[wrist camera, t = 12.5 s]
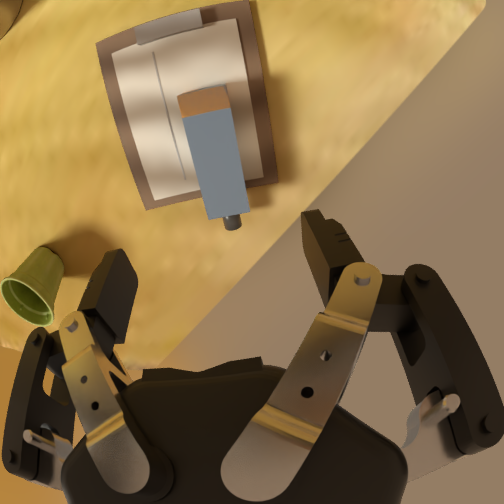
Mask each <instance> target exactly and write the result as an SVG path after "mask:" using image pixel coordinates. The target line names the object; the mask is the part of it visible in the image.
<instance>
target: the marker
mask: <svg viewBox="0 0 504 504" xmlns="http://www.w3.org/2000/svg"><path fill="white" fill-rule="evenodd" d="M177 100H178V104H179V108H180V112H181V116H182V120H183V125H184V129H185V133H186V137H187V141H188V145H189V148H190V152H191V156H192V160H193V164H194V168H195V171H196V175H197V179H198V183H199V186H200V190H201V194H202V197H203V201H204V205H205V208H206V212H207V215H208V219H209V220H211V219H216V218H221V217H222V218H223V222H224V226H225V229H226V230H230V231H232V230H236V229H238V228H240V227H241V225H242V223H241V218H240V214H242V213H247V212H250V208H249V203H248V197H247V192H246V187H245V181H244V176H243V171H242V165H241V160H240V155H239V149H238V144H237V139H236V134H235V128H234V123H233V118H232V113H231V107H230V102H229V97H228V92H227V87H226V83H225V84H220V85H215V86H210V87H205V88H201V89H197V90H192V91H188V92H184V93H182V94H180V95H178V96H177Z"/></svg>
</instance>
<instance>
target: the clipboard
mask: <svg viewBox="0 0 504 504" xmlns="http://www.w3.org/2000/svg"><path fill="white" fill-rule="evenodd" d="M96 48H97V52H98V57H99V62H100V66H101V70H102V75H103V79H104V83H105V87H106V91H107V94H108V98H109V102H110V105H111V109H112V112H113V116H114V119H115V123H116V126H117V129H118V133H119V136H120V139H121V142H122V145H123V148H124V151H125V154H126V157H127V160H128V163H129V166H130V169H131V172H132V175H133V177H134V180H135V183H136V186H137V188H138V191H139V194H140V196H141V199H142V202H143V204H144V207H145V209H146V210H150V209H154V208H158V207H162V206H166V205H170V204H174V203H178V202H183V201H187V200H192V199H196V198H201V197H202V194H201V190H200V186H199V183H198V179H197V175H196V171H195V168H194V164H193V160H192V156H191V152H190V148H189V145H188V141H187V137H186V133H185V129H184V125H183V120H182V116H181V112H180V108H179V104H178V100H177V96H178V95H180V94H182V93H184V92H188V91H192V90H197V89H201V88H205V87H210V86H215V85H220V84H225V83H226V87H227V92H228V97H229V102H230V107H231V113H232V118H233V123H234V128H235V134H236V139H237V144H238V149H239V155H240V160H241V165H242V171H243V176H244V181H245V187H246V188H250V187H256V186H261V185H267V184H273V183H278V175H277V167H276V160H275V152H274V145H273V138H272V131H271V124H270V118H269V111H268V105H267V98H266V92H265V86H264V80H263V74H262V68H261V62H260V57H259V51H258V45H257V40H256V35H255V29H254V24H253V19H252V14H251V9H250V4H249V0H243V1H235V2H228V3H221V4H216V5H210V6H205V7H200V8H196V9H191V10H187V11H183V12H179V13H176V14H172V15H168V16H165V17H162V18H158V19H155V20H152V21H149V22H146V23H143V24H141V25H138V26H135V27H133V28H130V29H127V30H125V31H122V32H120V33H118V34H115V35H113V36H111V37H108V38H106V39H104V40H102V41H100V42H97V43H96Z"/></svg>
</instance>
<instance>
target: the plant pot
mask: <svg viewBox="0 0 504 504" xmlns="http://www.w3.org/2000/svg"><path fill="white" fill-rule="evenodd" d="M63 274H64V265H63V263H62V261H61V259H60V258H59V256H58V255H56V254H54V253H52V252H51V250H50V249H48V248H45V247H38V248H36V249H35V250H34V251H33V252H32V253H31V254H30V255H29V257H28V258H27V259H26V260H25V261H24V262H23V263H22V264H21V265H20V266H19V268H18V269H17V270H16V271H15V272H14V273H12V274H11V275H10V276H9V277H6V278H4V279H3V280H2V282H1V284H0V290H1V294H2V296H3V298H4V300H5V302H6V303H7V305H8V306H9V307H10V308H11V309H12V311H14V312H15V313H16V314H17V315H18V316H19V317H21V318H22V319H24V320H25V321H27V322H29V323H31V324H34V325H37V326H42V327H46V326H49V325H51V324H52V323H53V320H54V312H53V311H54V302H55V299H56V295H57V292H58V289H59V286H60V283H61V280H62V277H63Z"/></svg>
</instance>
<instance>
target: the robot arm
mask: <svg viewBox="0 0 504 504" xmlns="http://www.w3.org/2000/svg"><path fill="white" fill-rule="evenodd" d="M21 4H22V0H0V39H1V38H2V37H3V36H4V35H5V33H6V32H7V31H8V30H9V28H10V27H11V25H12V24H13V22H14V20H15V18H16V16H17V14H18V12H19V10H20V7H21ZM301 226H302V242H303V249H304V253H305V256H306V259H307V261H308V264H309V266H310V269H311V272H312V274H313V277H314V279H315V282H316V284H317V287H318V290H319V293H320V295H321V298H322V301H323V304H324V306H325V311H324V312H323V313H322V312H319V313H318V315H317V316H316V317H315V319H314V321H313V323H312V325H311V327H310V329H309V331H308V332H307V334H306V336H305V338H304V340H303V342H302V344H301V345H300V347H299V349H298V351H297V352H296V354H295V356H294V358H293V359H292V361H291V363H290V365H289V366H288V368H287V369H284V368H281V367H277V366H272V365H263V362H262V359H261V357H255V358H249V359H243V360H236V361H230V362H226V363H224V364H221V365H218V366H215V367H213V368H210V369H207V370H205V371H201V372H192V371H185V370H179V369H173V368H157V369H143V375H142V378H141V379H138V380H136V381H134V382H133V380H132V379H131V377H130V376H129V374H128V372H127V371H126V369H125V367H124V365H123V363H122V362H121V360H120V358H119V356H118V354H117V353H116V351H115V350H114V349H113V347H114V344H123V343H124V342H125V337H126V332H127V328H128V324H129V319H130V315H131V311H132V307H133V303H134V299H135V295H136V292H137V288H138V278H137V274H136V272H135V270H134V269H133V267H132V265H131V263H130V261H129V259H128V257H127V256H126V254H125V252H124V251H123V250H122V249H117V250H112V251H108V252H106V253H105V255H104V257H103V259H102V262H101V264H100V265H99V266H98V267H97V268H96V269H95V271H94V272H93V273H92V276H91V278H90V280H89V281H90V282H88V285H87V287H86V288H87V289H85V292H84V294H83V297H82V299H81V302H80V304H79V307H78V309H77V311H74V312H72V313H70V314H68V315H67V316H66V317H65V318H64V319H63V320H62V322H61V324H60V327H59V330H57V331H55V332H53V333H50V334H49V333H48V332H47V331H46V329H45V328H43V327H38V328H36V329H34V330H33V331H32V332H31V334H30V335H29V337H28V339H27V341H26V344H25V347H24V350H23V353H22V356H21V359H20V363H19V366H18V370H17V373H16V377H15V380H14V384H13V389H12V393H11V397H10V401H9V406H8V411H7V417H6V423H5V430H4V437H3V446H2V461H3V464H4V467H5V468H6V470H7V471H8V472H9V473H12V474H14V475H16V476H19V477H21V478H24V479H25V480H27V481H30V482H33V483H35V484H39V485H42V486H45V487H51V488H54V489H58V490H62V491H63V492H64V494H65V497H66V499H67V502H68V504H400V503H401V499H402V496H403V493H404V490H405V487H406V484H407V483H408V482H410V481H412V480H415V479H417V478H420V477H422V476H424V475H427V474H429V473H431V472H433V471H435V470H437V469H439V468H441V467H443V466H445V465H447V464H449V463H451V462H454V461H457V460H460V459H463V458H465V457H468V456H470V455H473V454H476V453H478V452H480V451H483V450H485V449H487V448H489V447H491V446H494V445H495V444H496V443H497V442H499V440H500V439H501V438H502V436H503V434H504V406H503V403H502V400H501V397H500V395H499V392H498V389H497V387H496V384H495V382H494V379H493V377H492V374H491V372H490V369H489V367H488V365H487V362H486V360H485V358H484V356H483V354H482V352H481V350H480V348H479V346H478V343H477V341H476V339H475V337H474V335H473V334H472V332H471V330H470V328H469V326H468V324H467V322H466V320H465V318H464V317H463V315H462V313H461V311H460V310H459V308H458V306H457V304H456V303H455V301H454V299H453V298H452V296H451V294H450V293H449V291H448V290H447V288H446V286H445V285H444V283H443V282H442V280H441V278H440V277H439V275H438V274H437V273H436V271H435V270H433V269H432V268H430V267H429V266H426V265H422V264H414V265H411V266H409V267H408V268H407V269H406V271H405V273H404V275H385V274H381V272H380V271H379V269H378V268H376V267H375V266H373V265H371V264H369V263H365V261H364V259H363V258H362V256H361V255H360V253H359V251H358V250H357V248H356V247H355V245H354V243H353V242H352V240H351V239H350V237H349V235H348V234H347V233H346V231H345V229H344V228H343V226H342V225H341V224H340V223H338V222H337V221H335V220H334V219H328V220H325V218H324V217H323V215H322V214H321V212H320V211H319V209H317V210H310V211H305V212H301ZM370 331H371V332H390V333H391V335H392V338H393V340H394V343H395V345H396V348H397V350H398V353H399V356H400V359H401V361H402V364H403V367H404V370H405V373H406V376H407V379H408V382H409V385H410V388H411V391H412V394H413V397H414V400H415V404H416V407H415V408H414V409H413V410H412V411H411V412H410V414H409V416H408V419H407V437H406V440H405V442H404V444H403V446H402V447H401V448H399V447H398V446H397V445H396V444H395V443H394V442H392V441H391V440H389V439H388V438H386V437H385V436H383V435H382V434H380V433H379V432H377V431H375V430H374V429H373V428H371V427H370V426H368V425H367V424H365V423H364V422H362V421H361V420H359V419H358V418H356V417H355V416H353V415H352V414H351V413H349V412H348V411H346V410H345V409H343V408H342V407H341V406H339V403H340V401H341V399H342V397H343V395H344V392H345V390H346V388H347V385H348V383H349V381H350V378H351V376H352V373H353V370H354V368H355V366H356V363H357V360H358V358H359V355H360V353H361V350H362V348H363V345H364V342H365V339H366V337H367V334H368V332H370ZM46 367H47V368H48V369H49V370H50V371H51V372H52V373H54V374H55V375H54V379H53V384H52V389H51V394H50V396H48V395H47V394H46V393H45V392H44V390H43V379H44V375H45V371H46ZM75 412H77V414H78V417H79V419H80V422H81V424H82V426H83V428H84V431H85V433H86V434H85V435H84V437H83V438H82V439H81V440H80V442H79V443H78V444H77V445H76V447H75V448H74V449H73V447H72V444H73V431H74V421H75Z"/></svg>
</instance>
